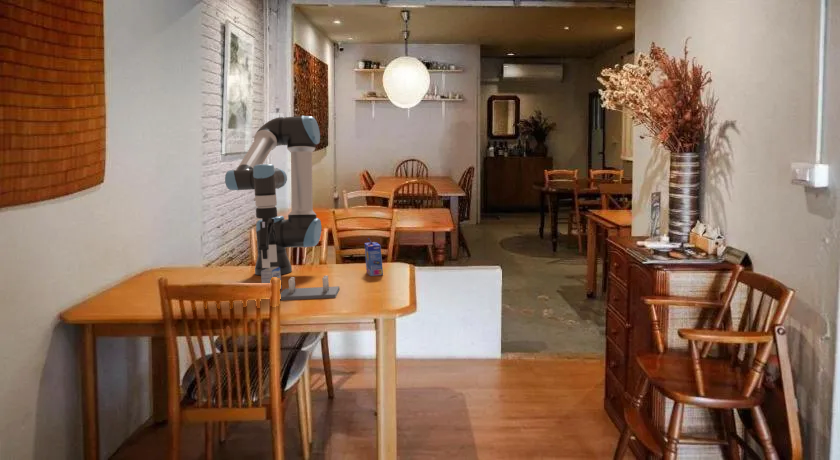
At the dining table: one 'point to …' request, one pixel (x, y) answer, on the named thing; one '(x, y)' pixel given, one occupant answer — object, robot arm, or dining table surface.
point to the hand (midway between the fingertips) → (269, 264)
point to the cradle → (309, 291)
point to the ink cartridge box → (373, 258)
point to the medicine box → (270, 274)
